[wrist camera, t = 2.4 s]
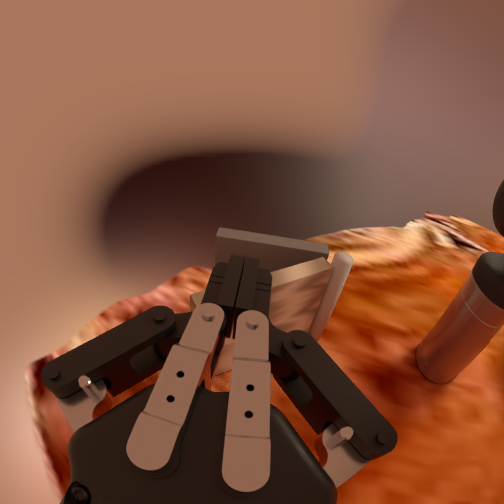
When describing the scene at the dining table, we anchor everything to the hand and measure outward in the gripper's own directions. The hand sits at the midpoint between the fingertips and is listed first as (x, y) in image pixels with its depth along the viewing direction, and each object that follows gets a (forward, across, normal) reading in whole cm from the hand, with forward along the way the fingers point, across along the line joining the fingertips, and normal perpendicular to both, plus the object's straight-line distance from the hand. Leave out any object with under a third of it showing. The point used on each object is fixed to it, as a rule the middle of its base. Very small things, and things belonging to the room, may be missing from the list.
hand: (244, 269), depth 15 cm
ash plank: (+10, -2, +24) cm, 26 cm away
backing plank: (+16, -3, +24) cm, 29 cm away
